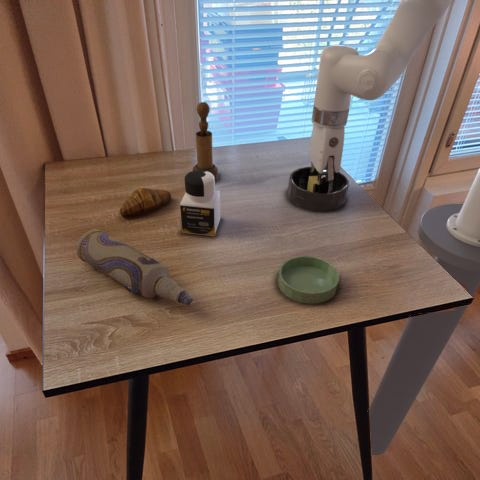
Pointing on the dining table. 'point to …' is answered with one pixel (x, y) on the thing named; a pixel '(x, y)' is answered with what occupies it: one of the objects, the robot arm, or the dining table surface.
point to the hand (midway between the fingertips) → (317, 193)
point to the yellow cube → (312, 183)
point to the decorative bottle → (129, 267)
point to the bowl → (317, 193)
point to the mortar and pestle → (204, 143)
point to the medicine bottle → (200, 204)
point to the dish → (308, 279)
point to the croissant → (144, 201)
